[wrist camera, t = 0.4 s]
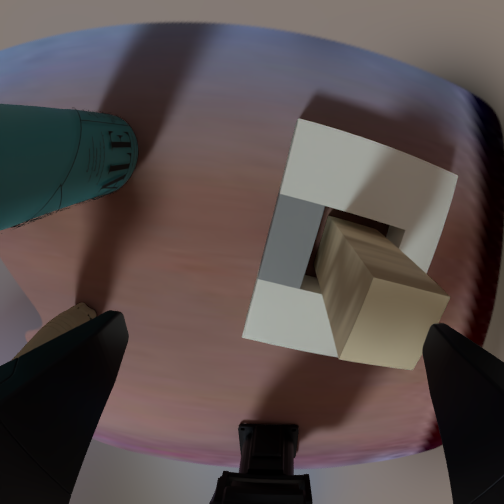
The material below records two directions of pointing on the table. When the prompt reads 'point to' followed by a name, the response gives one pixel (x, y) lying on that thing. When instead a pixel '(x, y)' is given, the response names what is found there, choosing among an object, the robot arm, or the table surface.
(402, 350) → the plug
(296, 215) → the block
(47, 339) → the handle
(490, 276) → the table surface
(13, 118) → the beverage bottle
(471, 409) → the robot arm
